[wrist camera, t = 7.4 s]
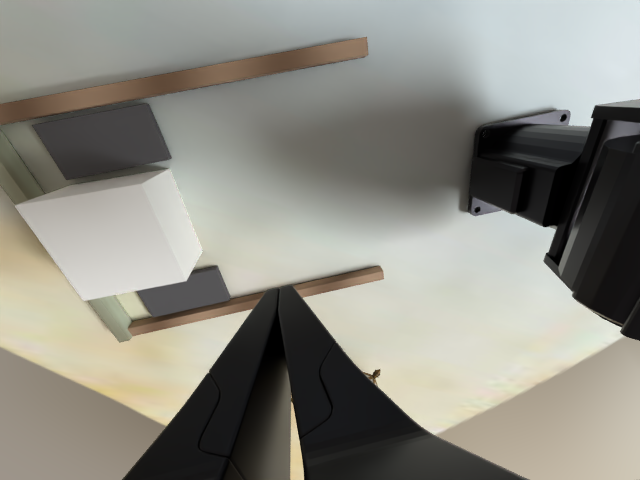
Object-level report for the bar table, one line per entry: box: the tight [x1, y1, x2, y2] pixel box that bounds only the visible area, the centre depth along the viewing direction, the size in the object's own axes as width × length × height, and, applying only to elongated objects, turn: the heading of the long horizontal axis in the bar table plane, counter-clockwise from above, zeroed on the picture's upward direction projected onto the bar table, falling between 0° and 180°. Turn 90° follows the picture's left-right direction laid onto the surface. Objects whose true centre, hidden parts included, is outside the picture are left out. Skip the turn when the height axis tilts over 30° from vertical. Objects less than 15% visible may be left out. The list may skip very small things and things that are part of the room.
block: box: [14, 168, 203, 301], centre depth 16 cm, size 6×6×4 cm
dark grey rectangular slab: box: [32, 104, 230, 317], centre depth 18 cm, size 6×14×1 cm, turn 10°
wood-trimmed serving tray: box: [0, 37, 384, 343], centre depth 17 cm, size 21×16×1 cm
